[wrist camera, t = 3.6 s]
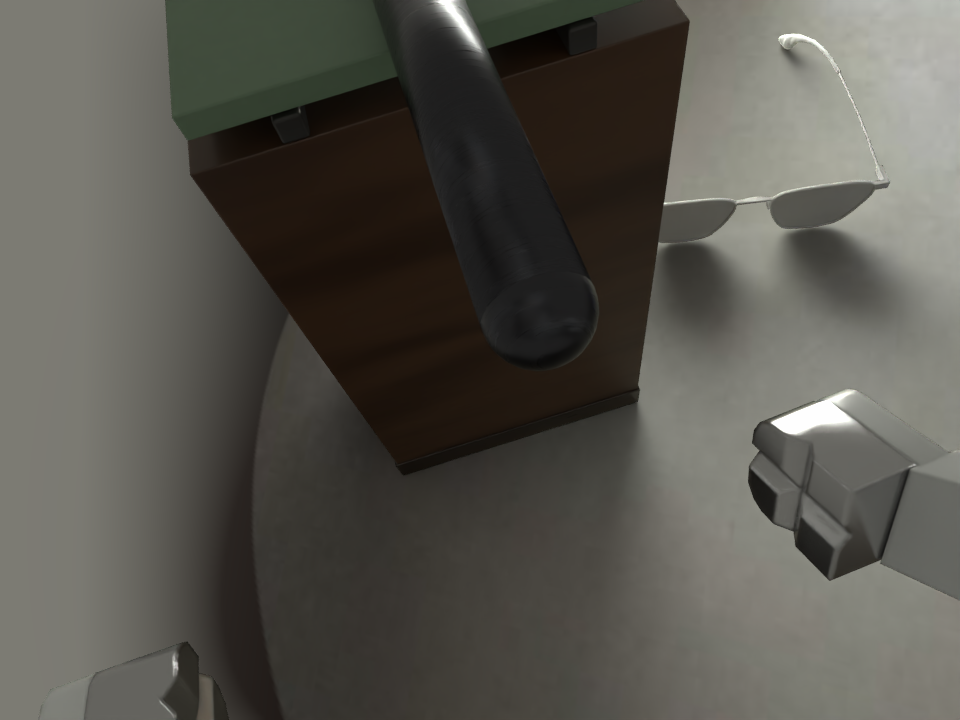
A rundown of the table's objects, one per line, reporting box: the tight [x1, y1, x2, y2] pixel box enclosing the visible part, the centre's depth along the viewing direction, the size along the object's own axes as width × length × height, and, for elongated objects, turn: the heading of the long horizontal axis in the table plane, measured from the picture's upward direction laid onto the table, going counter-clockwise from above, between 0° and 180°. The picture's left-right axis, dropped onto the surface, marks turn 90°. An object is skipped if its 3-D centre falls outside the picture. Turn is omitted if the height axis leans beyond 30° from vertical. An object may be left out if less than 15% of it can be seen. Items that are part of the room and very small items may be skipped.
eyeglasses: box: [658, 34, 890, 243], centre depth 46 cm, size 15×18×4 cm
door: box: [165, 0, 644, 371], centre depth 16 cm, size 20×13×3 cm, turn 15°
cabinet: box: [188, 0, 690, 475], centre depth 31 cm, size 10×14×25 cm
